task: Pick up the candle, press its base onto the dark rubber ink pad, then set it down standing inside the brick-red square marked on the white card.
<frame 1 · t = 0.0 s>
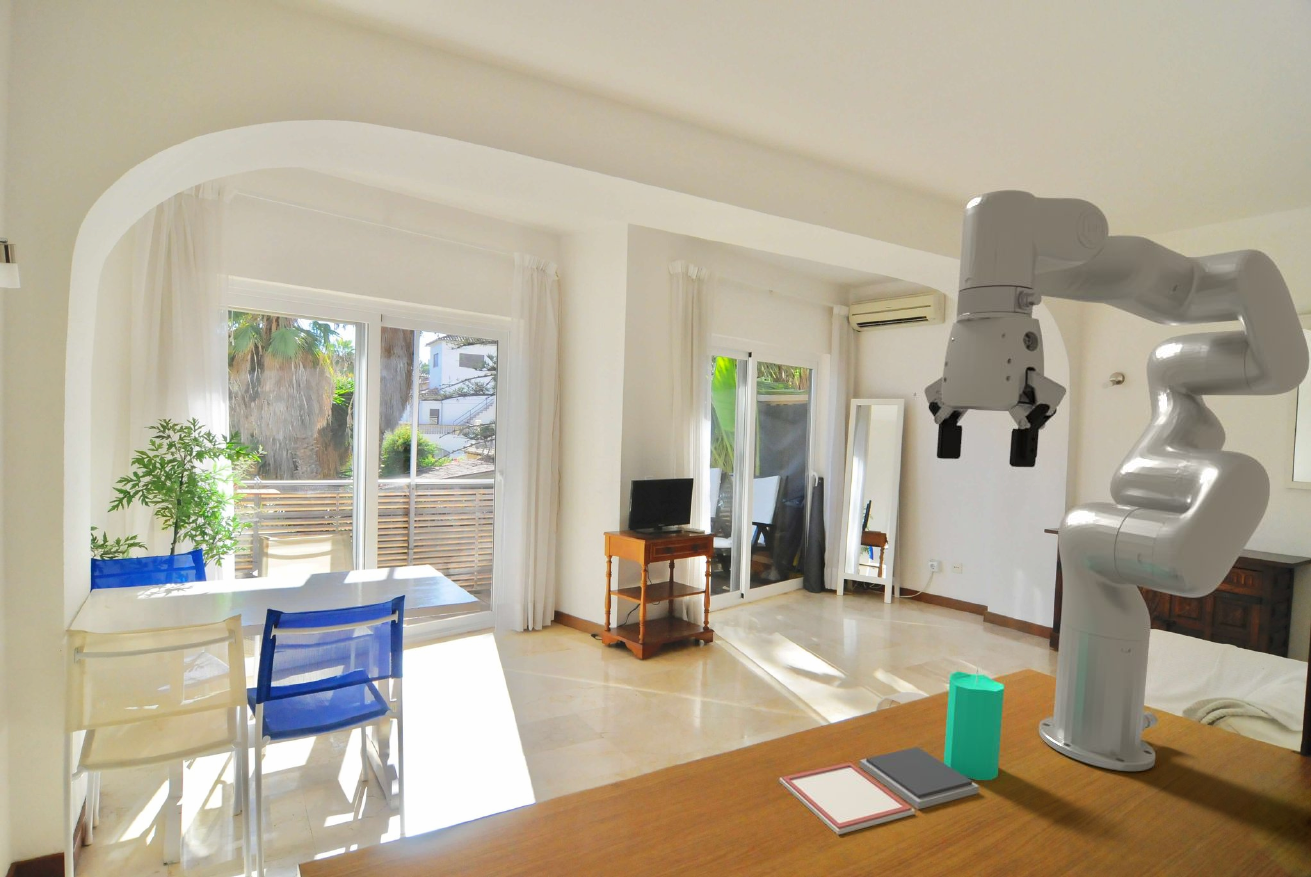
hand: (983, 462, 76), 37 cm above the table, tool pointing down, fingers open, 9 cm apart
marked card: (844, 797, 73), on the table
candle: (970, 768, 81), on the table
ink pad: (917, 779, 78), on the table
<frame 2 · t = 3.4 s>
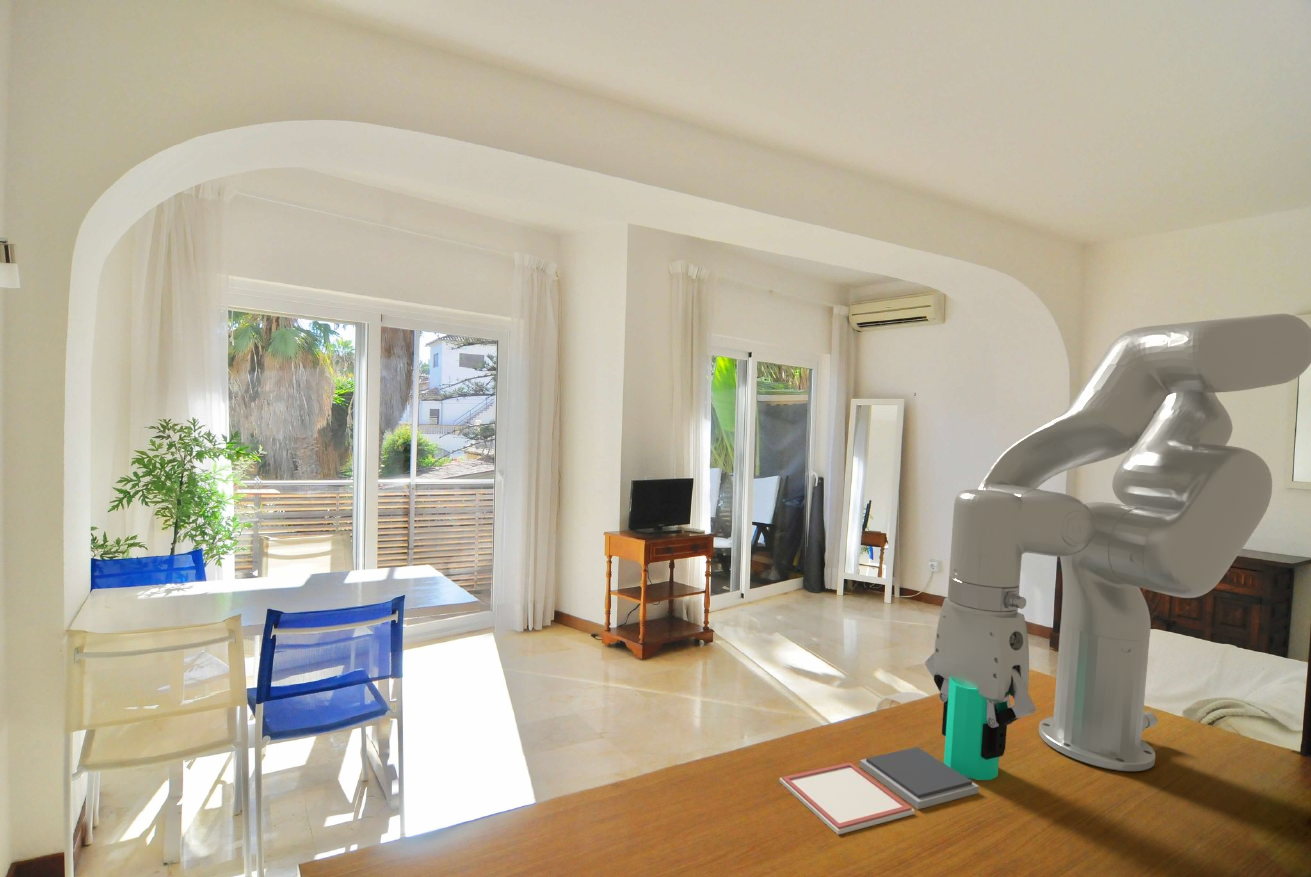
hand: (972, 743, 81), 3 cm above the table, tool pointing down, fingers closed on candle, 4 cm apart
candle: (970, 768, 81), on the table, touching gripper
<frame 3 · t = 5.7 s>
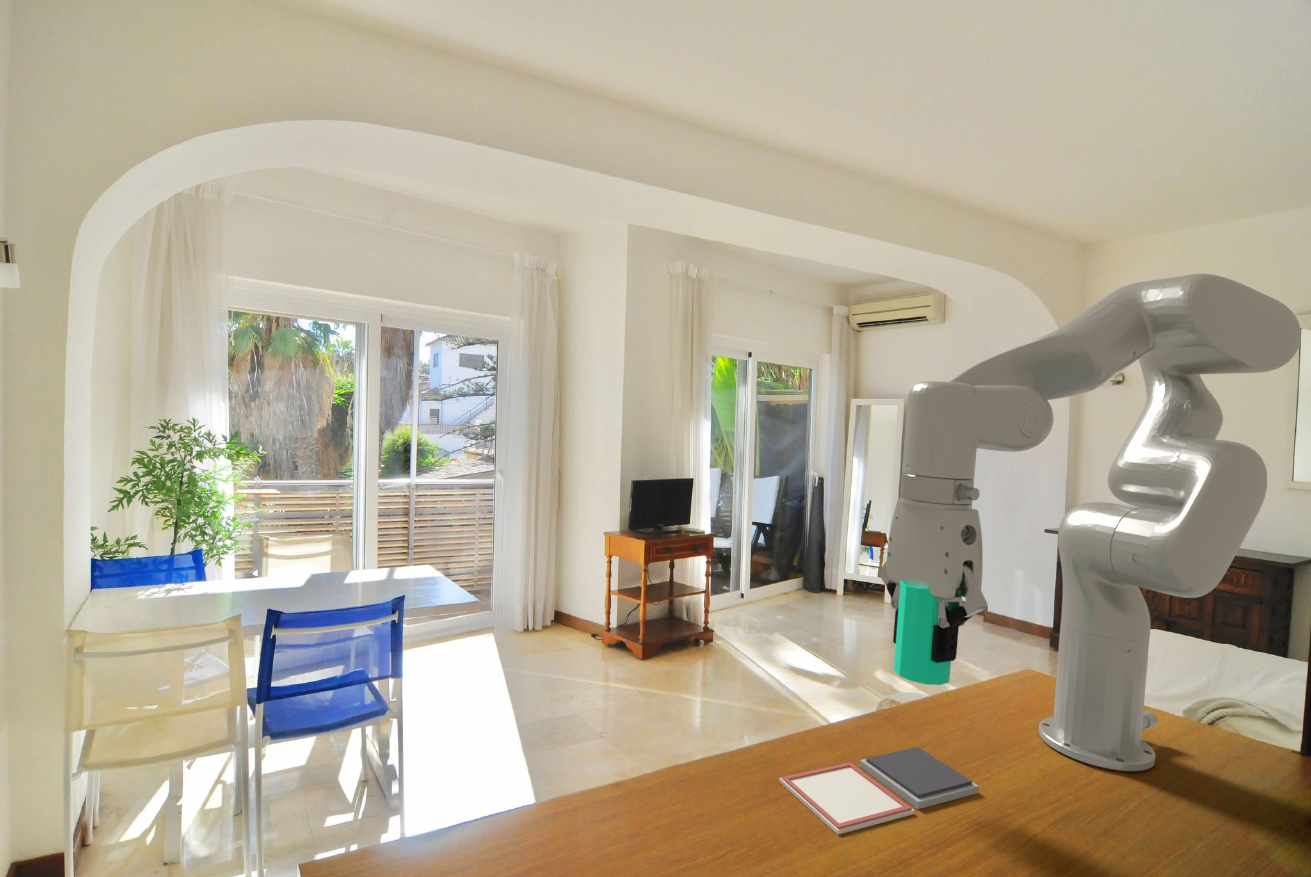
hand: (923, 650, 77), 15 cm above the table, tool pointing down, fingers closed on candle, 4 cm apart
candle: (921, 676, 77), point 12 cm above the table, touching gripper
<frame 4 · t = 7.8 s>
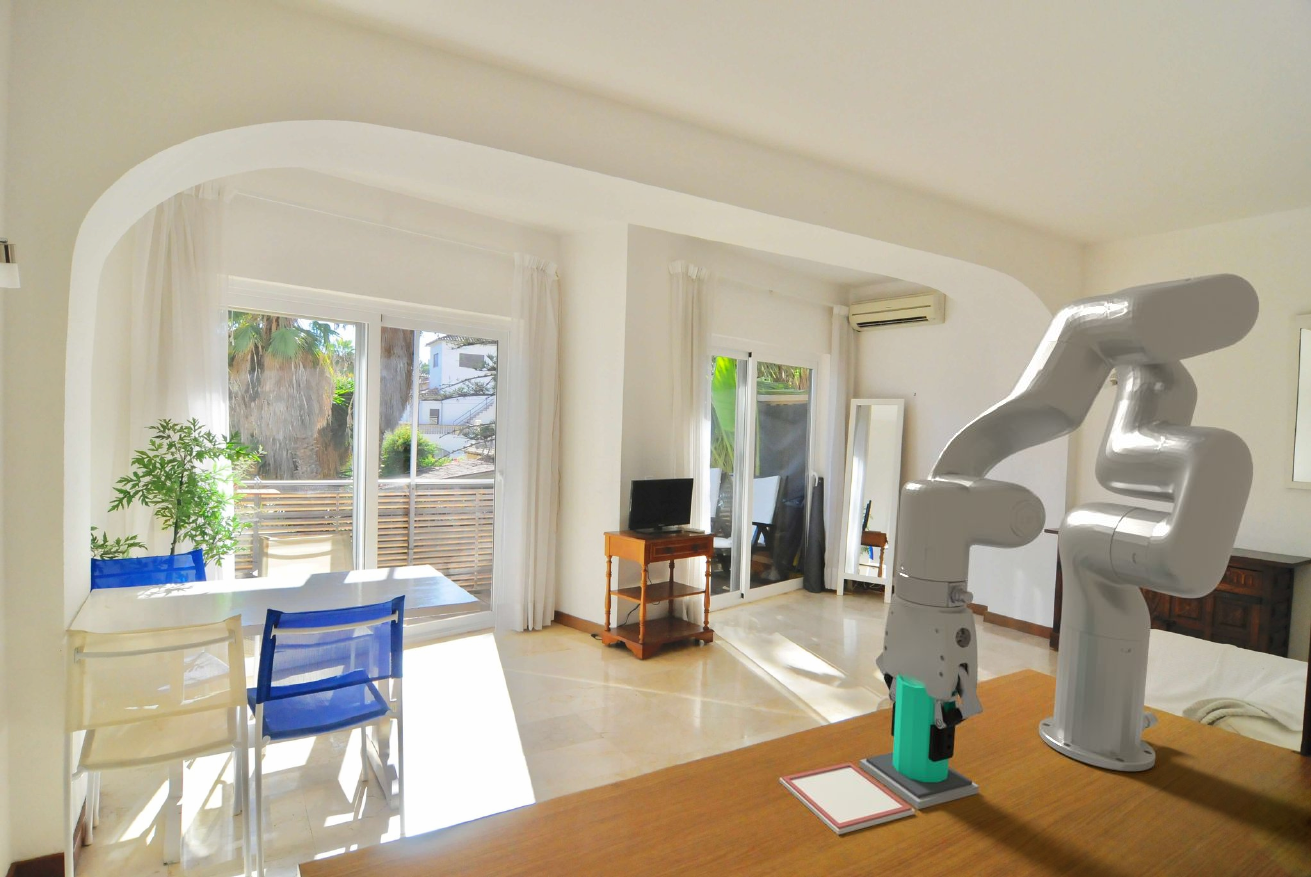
hand: (921, 744, 78), 4 cm above the table, tool pointing down, fingers closed on candle, 4 cm apart
candle: (919, 769, 78), point 1 cm above the table, touching gripper
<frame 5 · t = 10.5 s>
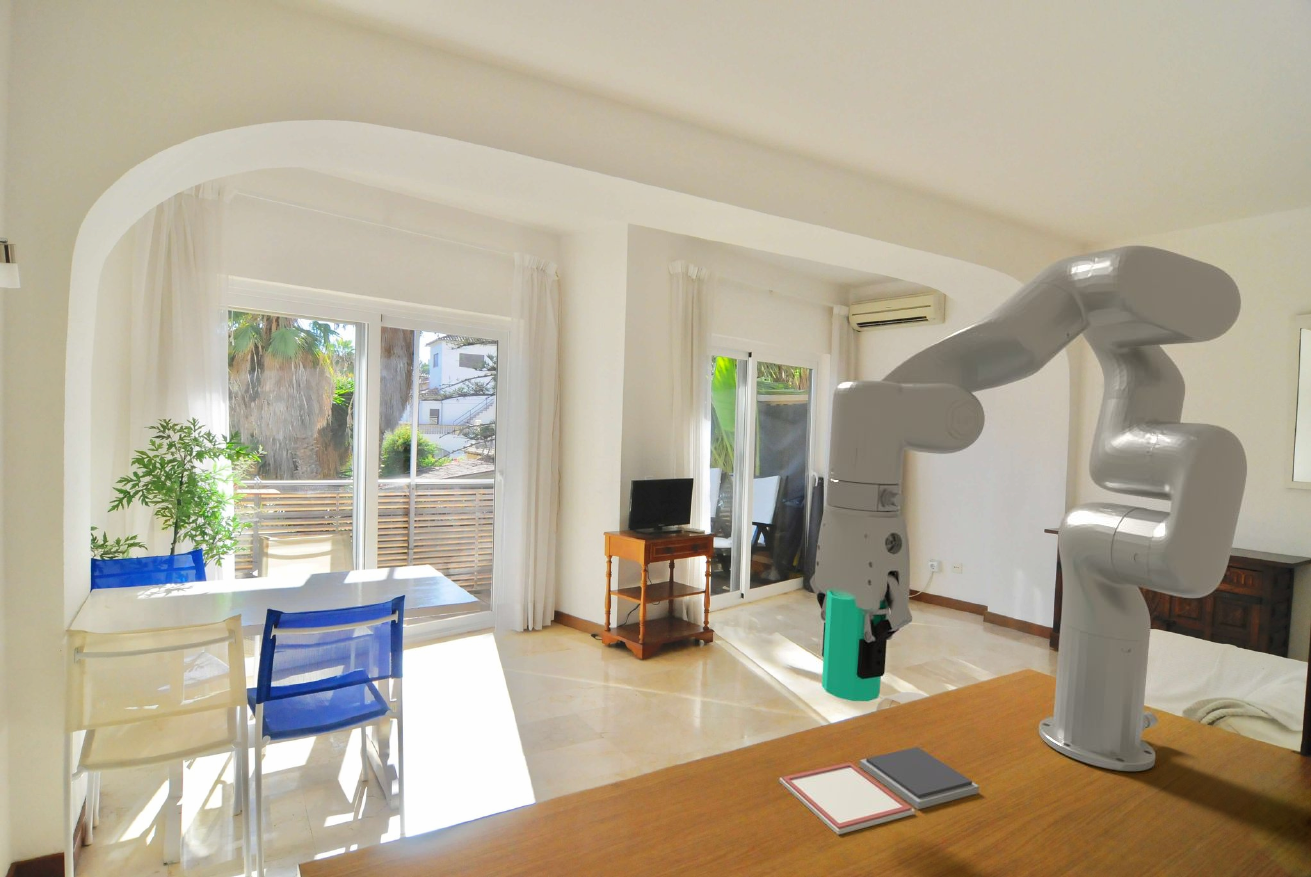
hand: (852, 664, 73), 15 cm above the table, tool pointing down, fingers closed on candle, 4 cm apart
candle: (850, 691, 73), point 12 cm above the table, touching gripper
when the fingers open (4 cm above the table, at t = 12.6 s): candle stays where it is, resting on marked card.
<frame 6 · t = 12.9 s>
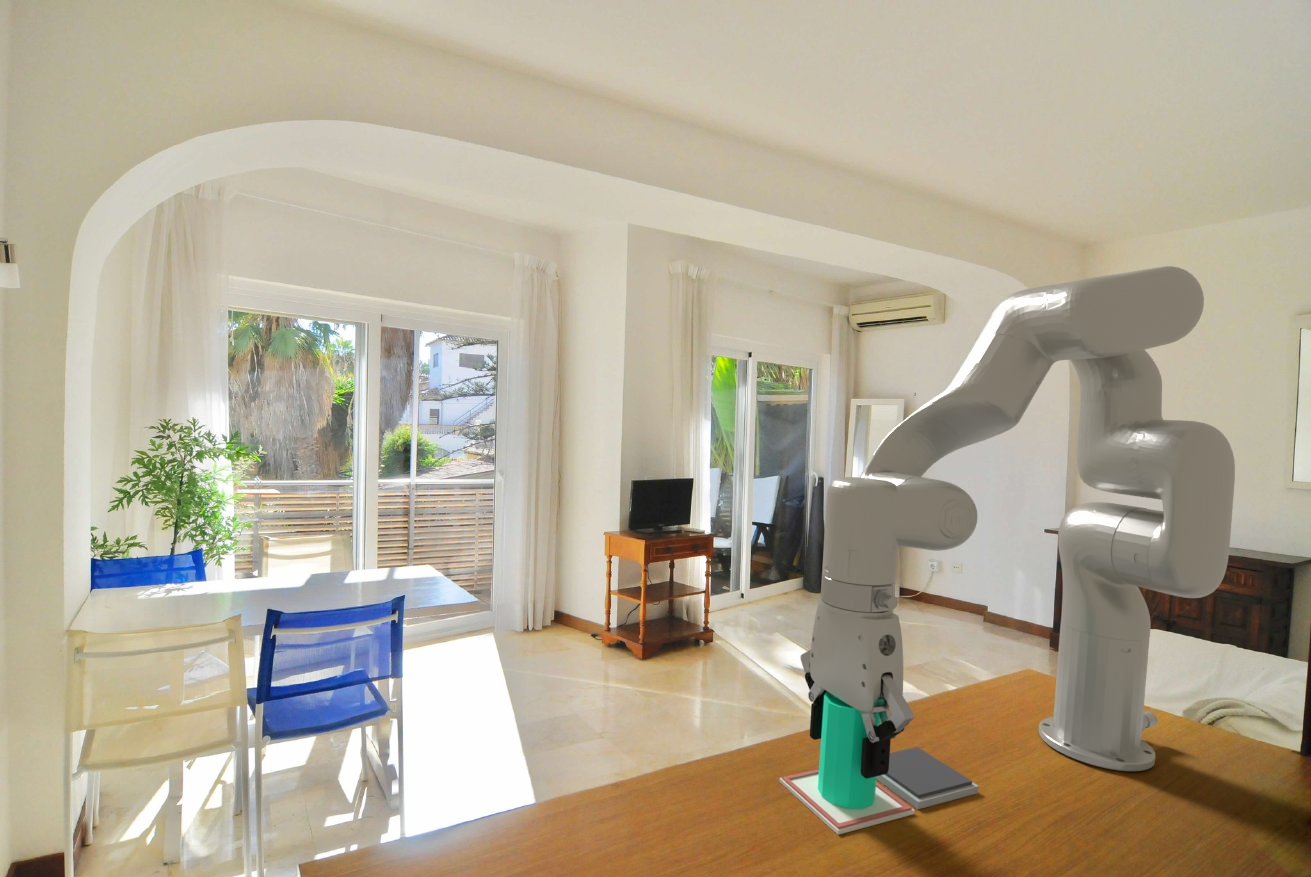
hand: (847, 754, 73), 5 cm above the table, tool pointing down, fingers open, 7 cm apart
candle: (845, 794, 73), resting on marked card
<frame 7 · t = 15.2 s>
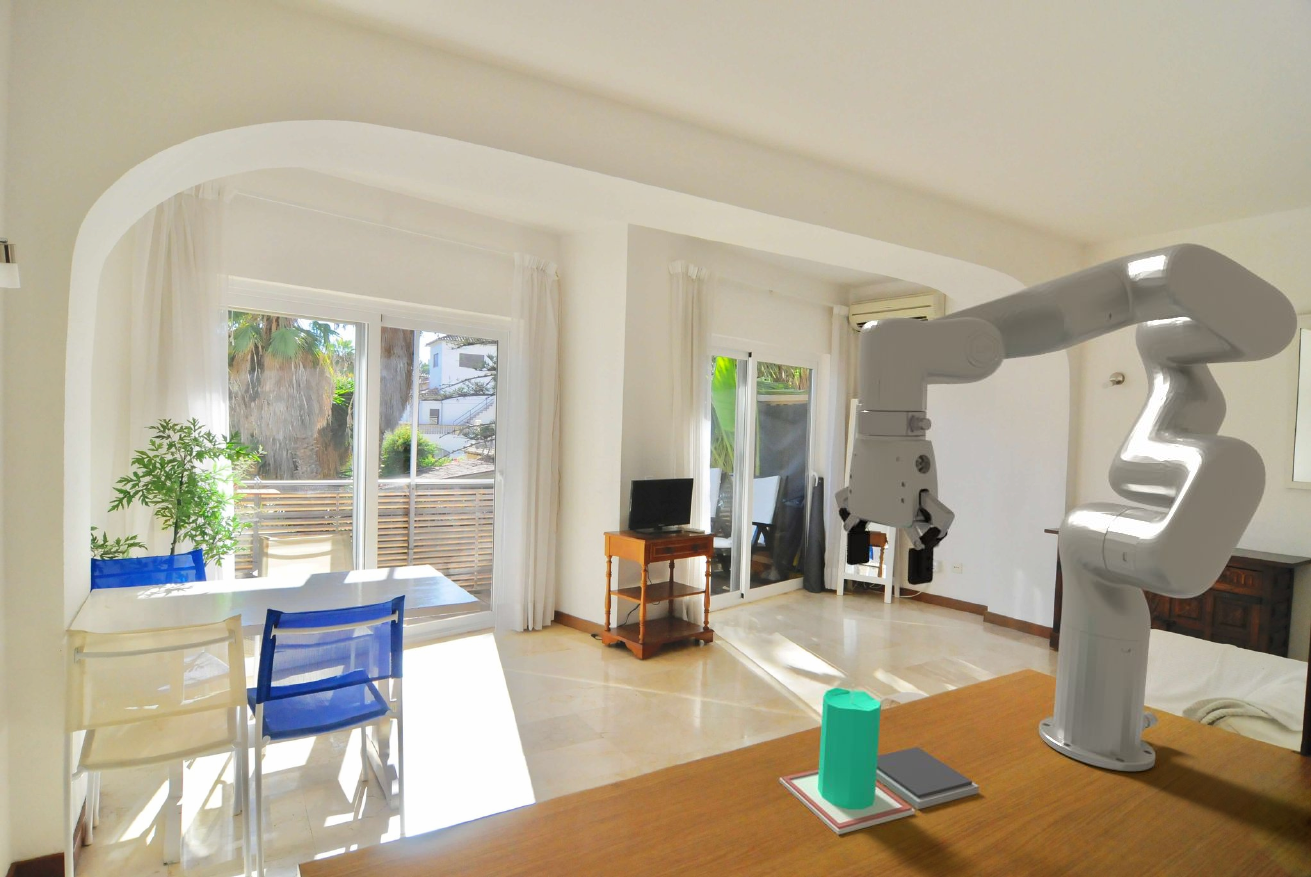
hand: (887, 572, 79), 23 cm above the table, tool pointing down, fingers open, 9 cm apart
nothing on the table moved.
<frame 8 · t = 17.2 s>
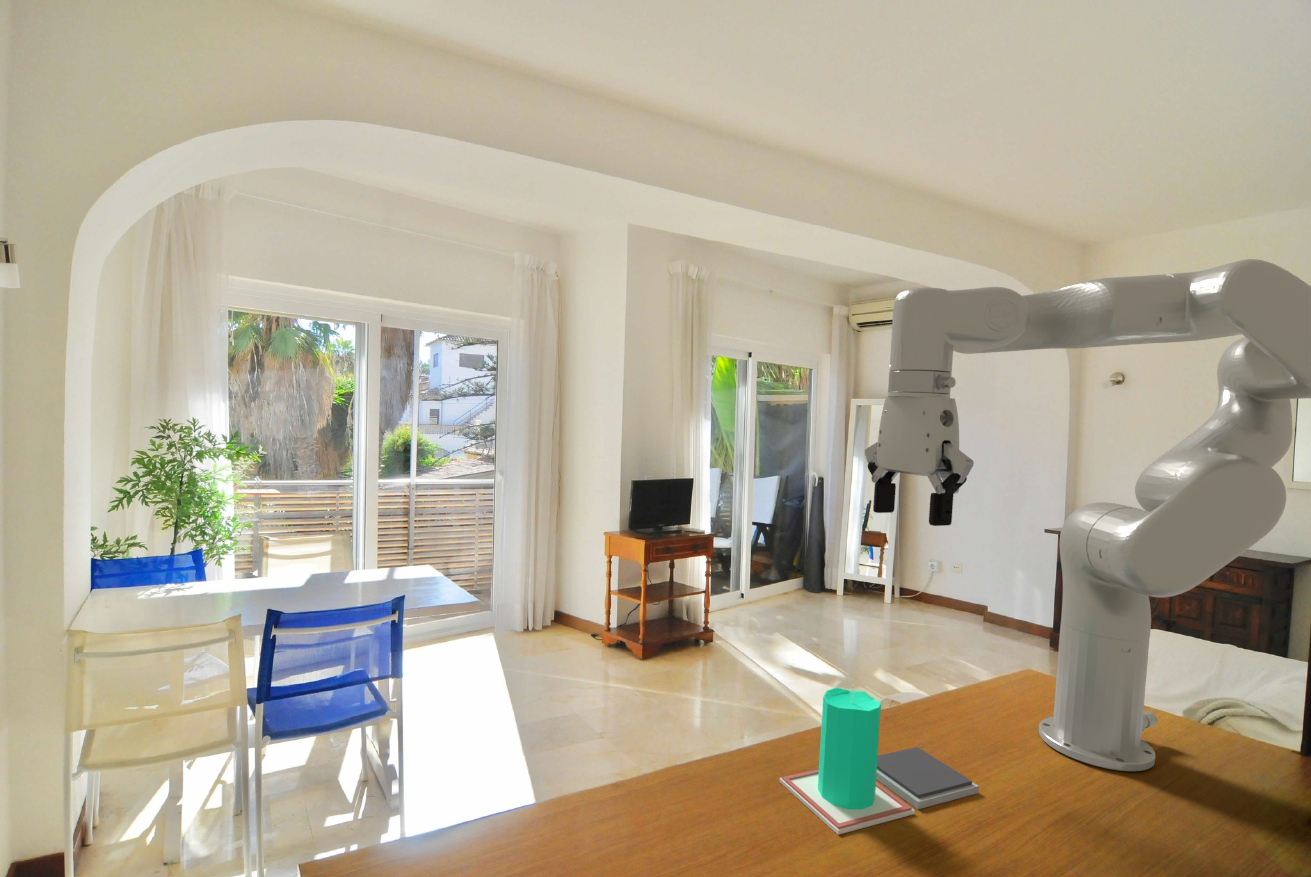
hand: (910, 518, 88), 28 cm above the table, tool pointing down, fingers open, 9 cm apart
nothing on the table moved.
at the end: candle 0.2 cm off-centre on the marked card, point 0.2 cm above the marked card's base; candle tilted 0°; the gripper is holding nothing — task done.
